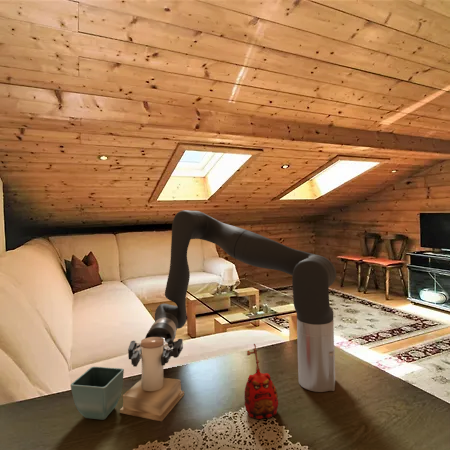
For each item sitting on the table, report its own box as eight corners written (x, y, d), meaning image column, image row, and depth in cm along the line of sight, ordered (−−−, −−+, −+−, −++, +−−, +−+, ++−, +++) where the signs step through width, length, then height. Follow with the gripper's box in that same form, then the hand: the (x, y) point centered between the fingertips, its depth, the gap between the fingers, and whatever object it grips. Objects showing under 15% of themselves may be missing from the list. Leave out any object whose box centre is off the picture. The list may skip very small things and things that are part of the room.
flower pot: (107, 427, 74) (104, 387, 74) (71, 423, 76) (69, 384, 75) (126, 403, 83) (124, 368, 82) (94, 401, 84) (92, 366, 84)
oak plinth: (184, 394, 86) (183, 379, 86) (161, 421, 75) (160, 404, 75) (146, 387, 90) (145, 373, 89) (119, 412, 79) (118, 396, 79)
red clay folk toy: (249, 424, 73) (246, 356, 72) (241, 405, 80) (238, 343, 79) (282, 418, 75) (280, 352, 74) (271, 400, 82) (269, 340, 81)
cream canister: (168, 383, 84) (167, 338, 84) (156, 392, 79) (156, 345, 79) (149, 379, 86) (149, 336, 86) (136, 389, 81) (136, 342, 81)
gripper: (135, 322, 96) (117, 347, 79) (186, 320, 96) (178, 345, 79) (137, 348, 96) (119, 379, 80) (187, 346, 96) (180, 376, 80)
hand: (148, 362), depth 79 cm, fingers open, 6 cm apart
